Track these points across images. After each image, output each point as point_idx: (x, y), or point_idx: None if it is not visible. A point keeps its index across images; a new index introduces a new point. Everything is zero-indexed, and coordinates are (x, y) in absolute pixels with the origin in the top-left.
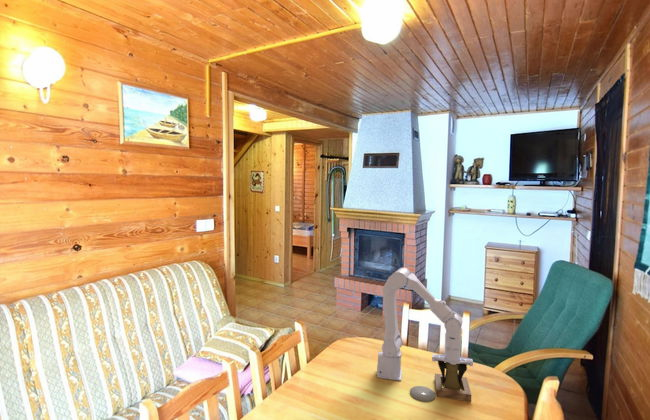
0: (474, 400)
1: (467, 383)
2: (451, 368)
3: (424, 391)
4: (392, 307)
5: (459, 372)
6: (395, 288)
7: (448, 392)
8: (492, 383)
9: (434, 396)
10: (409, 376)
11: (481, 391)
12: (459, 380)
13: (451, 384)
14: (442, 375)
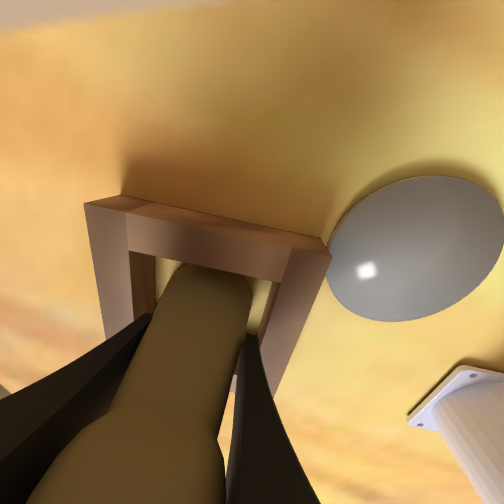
0: None
1: (107, 323)
2: (139, 487)
3: (386, 274)
4: None
5: (83, 402)
6: None
7: (248, 237)
8: (23, 338)
9: (345, 224)
10: (386, 388)
11: (65, 286)
12: (135, 328)
13: (207, 303)
14: (264, 377)
